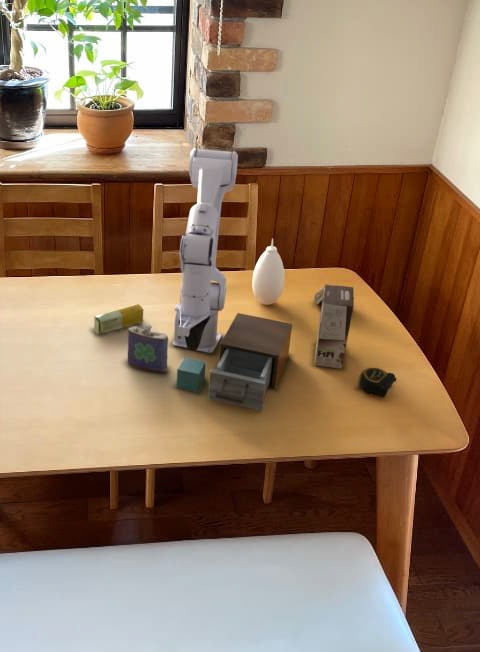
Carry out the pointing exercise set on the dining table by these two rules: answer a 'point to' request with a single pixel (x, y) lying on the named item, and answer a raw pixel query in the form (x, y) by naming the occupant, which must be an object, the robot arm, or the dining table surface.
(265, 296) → the sauce bottle
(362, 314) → the dining table surface
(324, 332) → the coffee box
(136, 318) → the medication box
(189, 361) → the block
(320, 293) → the fossilized seashell
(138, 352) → the flask
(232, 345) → the cabinet
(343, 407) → the dining table surface
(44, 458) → the dining table surface
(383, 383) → the tape measure
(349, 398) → the dining table surface
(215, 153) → the robot arm
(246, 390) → the drawer
